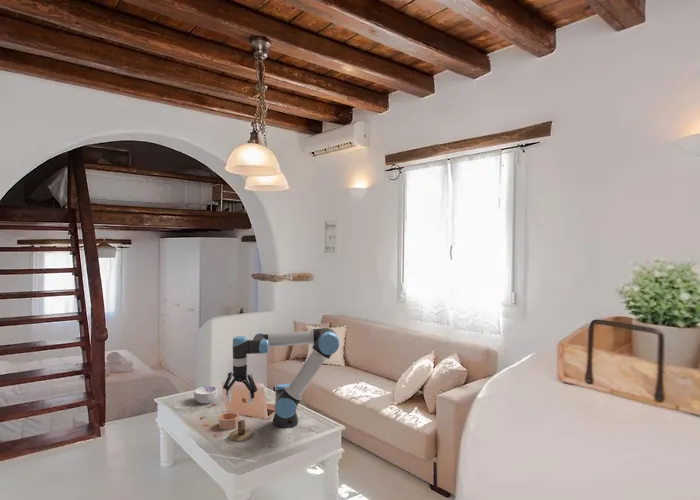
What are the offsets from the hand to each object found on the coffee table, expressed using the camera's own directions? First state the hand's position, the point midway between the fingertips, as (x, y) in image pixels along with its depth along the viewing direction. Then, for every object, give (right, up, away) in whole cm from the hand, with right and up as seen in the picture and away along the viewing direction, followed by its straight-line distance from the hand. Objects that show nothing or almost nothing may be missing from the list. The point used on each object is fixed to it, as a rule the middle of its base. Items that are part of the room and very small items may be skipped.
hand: (240, 402), depth 238 cm
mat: (+1, -19, 0) cm, 19 cm away
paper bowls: (-36, -18, +52) cm, 66 cm away
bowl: (-10, -19, +13) cm, 25 cm away
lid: (+1, -18, 0) cm, 18 cm away
